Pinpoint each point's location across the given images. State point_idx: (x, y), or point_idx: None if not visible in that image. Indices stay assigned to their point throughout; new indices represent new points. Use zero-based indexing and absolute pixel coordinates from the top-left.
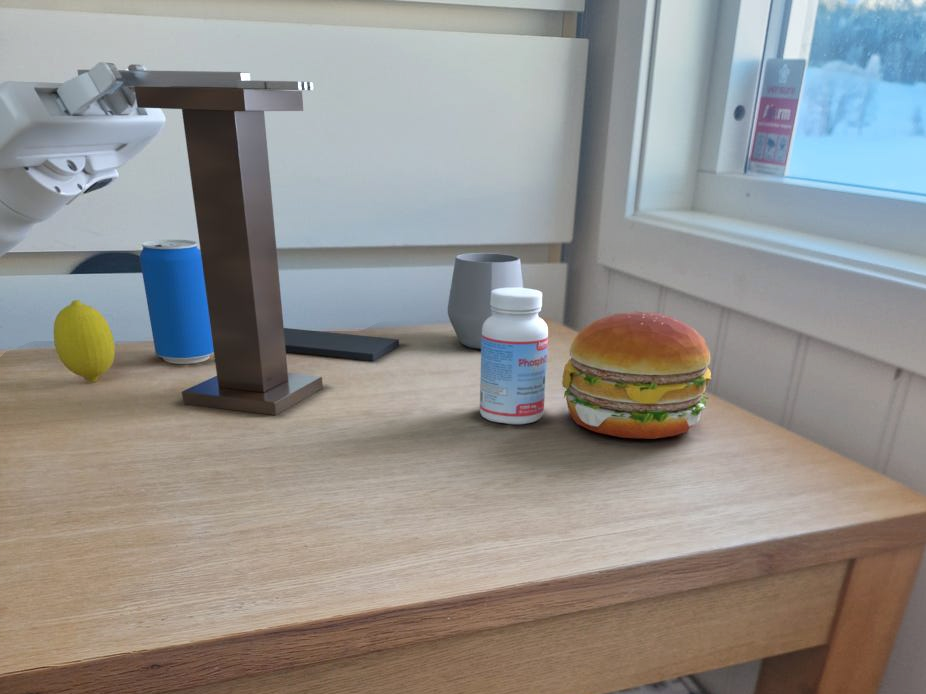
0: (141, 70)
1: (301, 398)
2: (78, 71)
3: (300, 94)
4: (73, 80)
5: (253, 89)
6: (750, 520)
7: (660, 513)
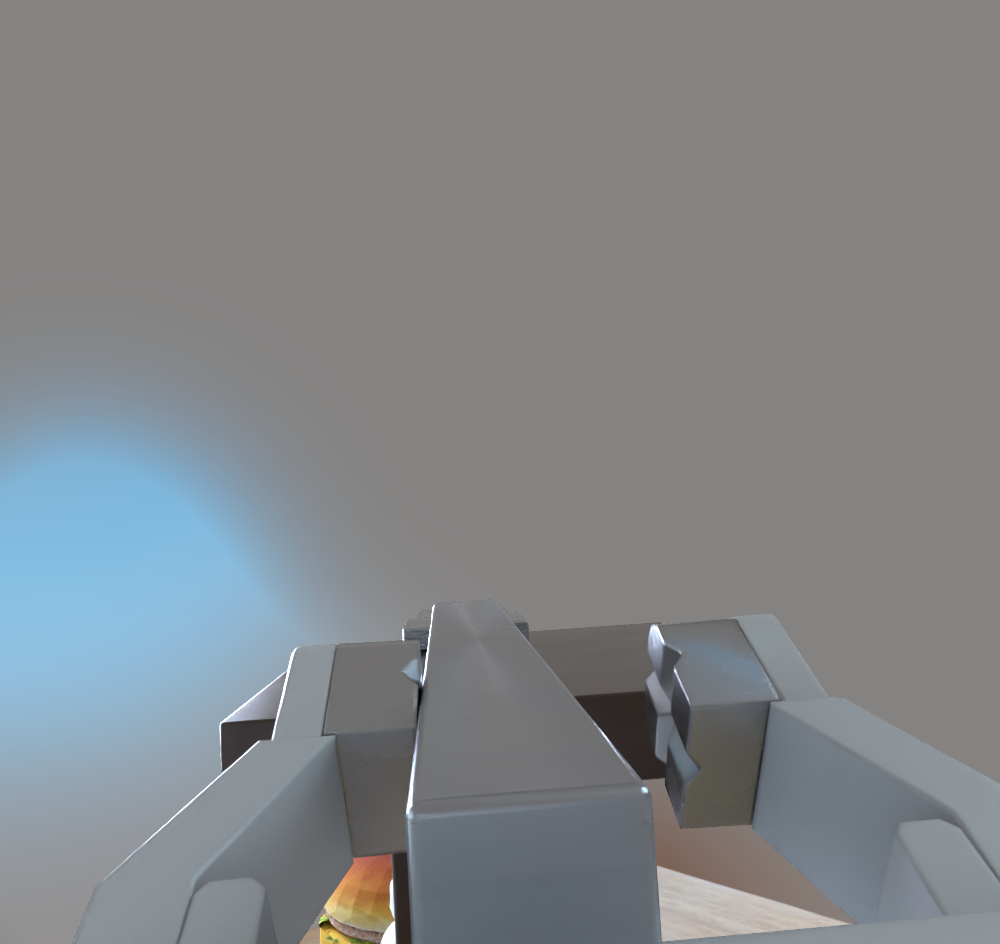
0: (534, 649)
1: None
2: (651, 800)
3: None
4: (969, 780)
5: (608, 626)
6: (667, 888)
7: (703, 923)
